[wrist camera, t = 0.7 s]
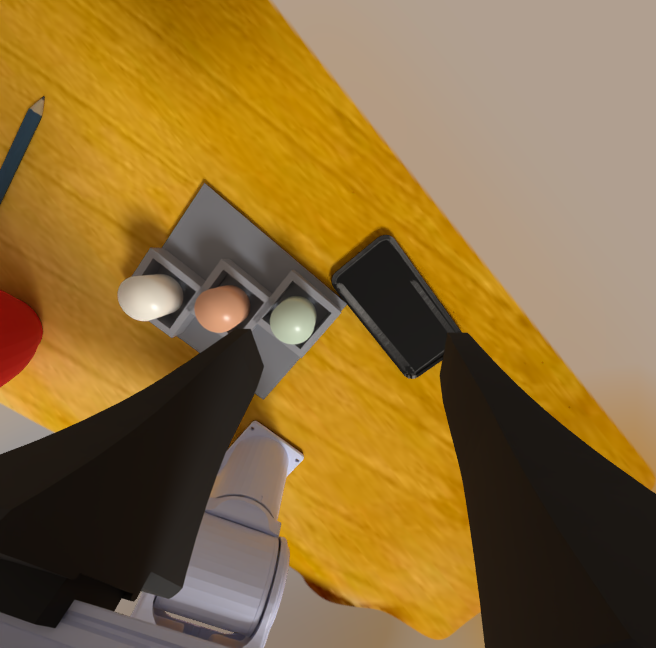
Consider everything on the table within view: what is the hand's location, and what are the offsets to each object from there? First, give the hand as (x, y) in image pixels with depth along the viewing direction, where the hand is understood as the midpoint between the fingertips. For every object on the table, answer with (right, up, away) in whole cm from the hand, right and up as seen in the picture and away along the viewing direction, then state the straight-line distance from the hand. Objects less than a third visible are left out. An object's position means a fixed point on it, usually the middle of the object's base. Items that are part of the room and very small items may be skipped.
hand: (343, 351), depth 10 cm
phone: (+7, +3, +20) cm, 21 cm away
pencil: (-32, +17, +17) cm, 39 cm away
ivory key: (-17, +4, +17) cm, 24 cm away
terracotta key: (-10, +3, +17) cm, 20 cm away
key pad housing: (-10, +4, +19) cm, 22 cm away
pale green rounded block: (-4, +2, +17) cm, 17 cm away
